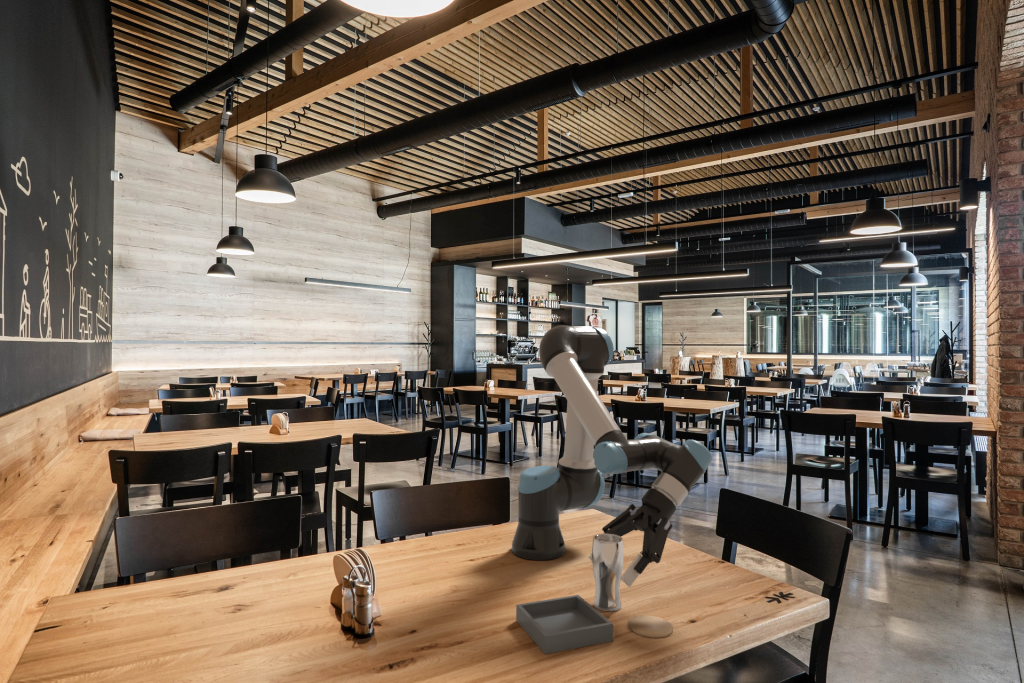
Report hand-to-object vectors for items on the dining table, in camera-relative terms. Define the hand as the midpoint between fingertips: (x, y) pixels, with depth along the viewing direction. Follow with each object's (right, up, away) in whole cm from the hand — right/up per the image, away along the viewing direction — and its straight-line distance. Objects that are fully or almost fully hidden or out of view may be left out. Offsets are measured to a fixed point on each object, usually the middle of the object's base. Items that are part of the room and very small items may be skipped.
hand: (607, 571), depth 127 cm
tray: (-11, -7, -11) cm, 17 cm away
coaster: (+7, -8, -10) cm, 14 cm away
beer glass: (0, -8, +1) cm, 8 cm away
